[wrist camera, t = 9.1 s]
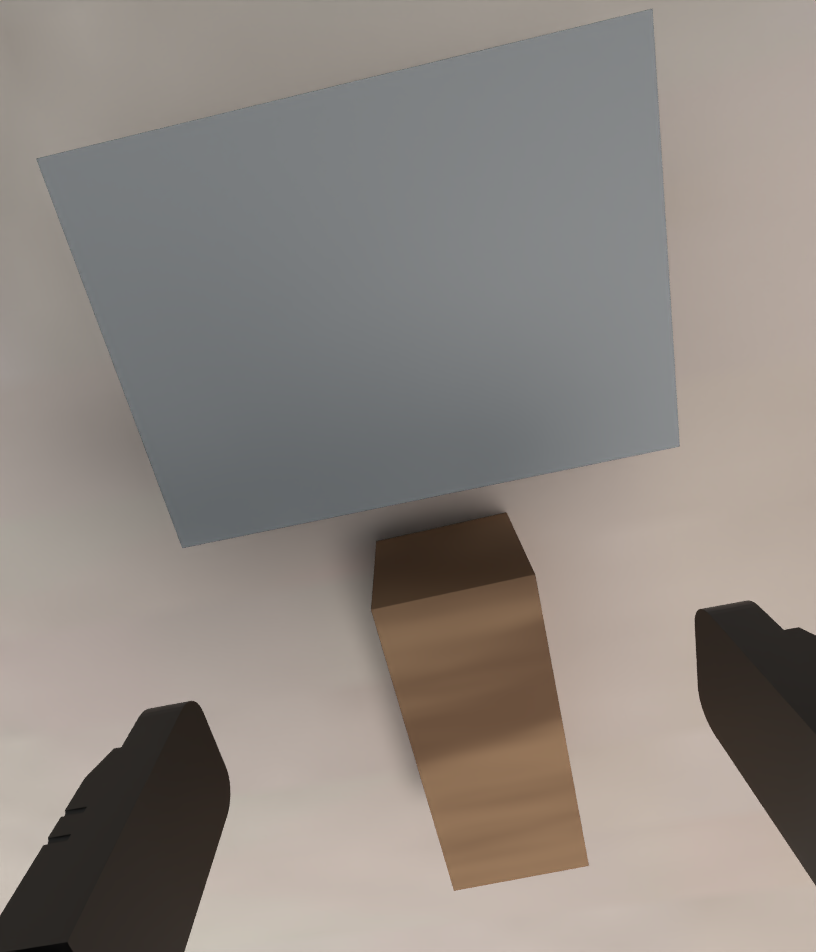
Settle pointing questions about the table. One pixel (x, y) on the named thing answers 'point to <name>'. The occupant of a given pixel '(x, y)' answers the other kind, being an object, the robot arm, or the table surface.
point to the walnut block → (479, 699)
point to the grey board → (388, 282)
